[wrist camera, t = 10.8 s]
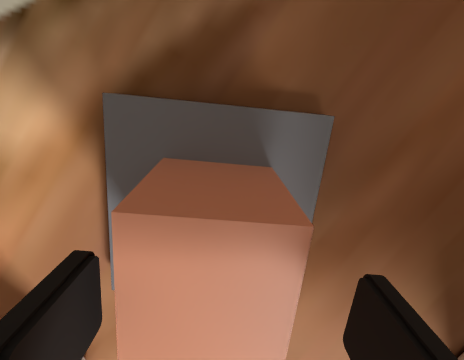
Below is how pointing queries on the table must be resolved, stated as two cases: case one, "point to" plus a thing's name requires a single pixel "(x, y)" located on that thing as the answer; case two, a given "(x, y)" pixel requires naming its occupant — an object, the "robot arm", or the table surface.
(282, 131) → the post base
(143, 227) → the salmon pink cube
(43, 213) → the table surface
